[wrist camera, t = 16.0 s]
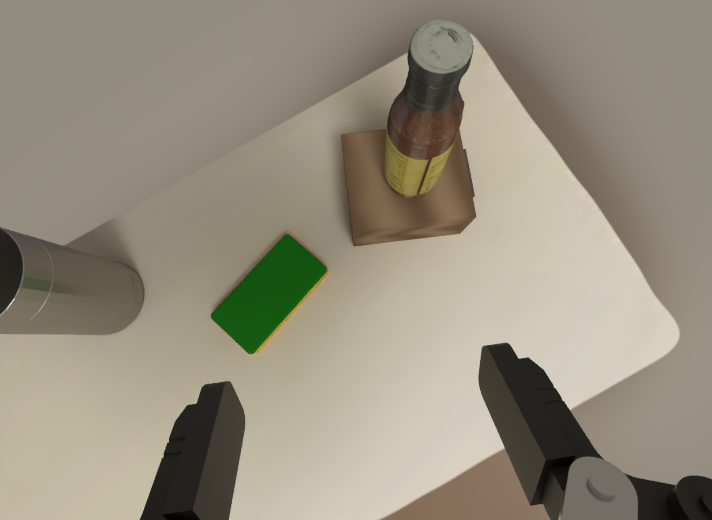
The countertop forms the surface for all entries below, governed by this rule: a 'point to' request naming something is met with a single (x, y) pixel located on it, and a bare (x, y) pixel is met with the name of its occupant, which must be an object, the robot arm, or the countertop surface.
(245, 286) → the dish sponge
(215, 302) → the countertop surface
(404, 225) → the walnut box
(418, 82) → the sauce bottle
